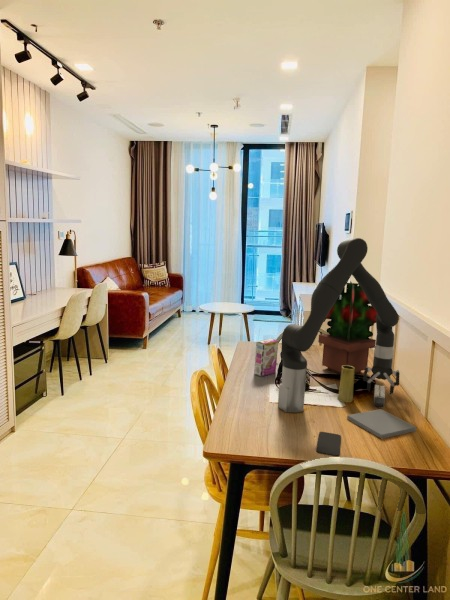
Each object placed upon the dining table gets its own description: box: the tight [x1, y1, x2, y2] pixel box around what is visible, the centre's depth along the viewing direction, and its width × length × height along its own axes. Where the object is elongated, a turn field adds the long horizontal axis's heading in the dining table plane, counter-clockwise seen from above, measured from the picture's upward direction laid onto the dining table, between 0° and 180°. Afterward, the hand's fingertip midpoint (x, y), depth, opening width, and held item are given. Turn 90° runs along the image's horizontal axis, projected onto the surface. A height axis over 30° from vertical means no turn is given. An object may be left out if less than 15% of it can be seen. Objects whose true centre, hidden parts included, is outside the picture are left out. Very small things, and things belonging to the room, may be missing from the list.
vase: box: [337, 365, 355, 403], centre depth 185 cm, size 6×6×14 cm
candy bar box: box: [253, 338, 279, 378], centre depth 213 cm, size 11×5×16 cm, turn 134°
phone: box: [315, 431, 342, 457], centre depth 146 cm, size 7×1×15 cm
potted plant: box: [318, 280, 377, 375], centre depth 221 cm, size 22×22×45 cm
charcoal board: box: [346, 408, 417, 439], centre depth 163 cm, size 17×17×2 cm
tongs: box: [373, 384, 386, 409], centre depth 187 cm, size 18×4×4 cm, turn 161°
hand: (379, 392), depth 187 cm, fingers open, 8 cm apart
